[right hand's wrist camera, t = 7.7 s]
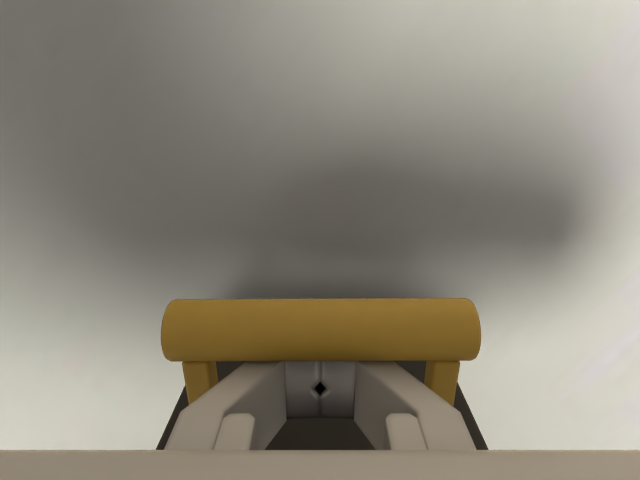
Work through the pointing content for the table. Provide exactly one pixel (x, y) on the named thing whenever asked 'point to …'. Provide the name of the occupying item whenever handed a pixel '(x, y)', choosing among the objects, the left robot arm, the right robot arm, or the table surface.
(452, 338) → the drawer
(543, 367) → the table surface
